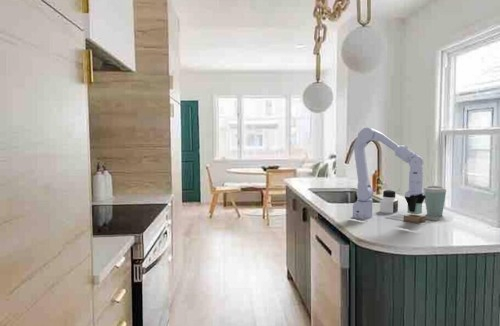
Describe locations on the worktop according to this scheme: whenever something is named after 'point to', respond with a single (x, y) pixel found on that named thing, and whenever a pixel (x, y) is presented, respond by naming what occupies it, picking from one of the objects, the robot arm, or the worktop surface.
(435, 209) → the disposable coffee cup
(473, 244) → the worktop surface
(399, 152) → the robot arm
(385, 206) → the medicine bottle
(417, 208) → the green cube
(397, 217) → the stacking base
